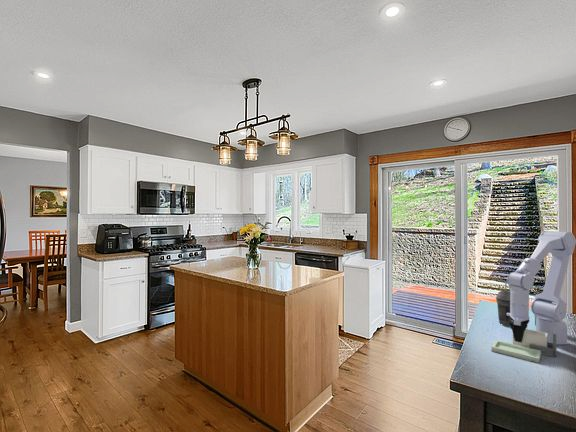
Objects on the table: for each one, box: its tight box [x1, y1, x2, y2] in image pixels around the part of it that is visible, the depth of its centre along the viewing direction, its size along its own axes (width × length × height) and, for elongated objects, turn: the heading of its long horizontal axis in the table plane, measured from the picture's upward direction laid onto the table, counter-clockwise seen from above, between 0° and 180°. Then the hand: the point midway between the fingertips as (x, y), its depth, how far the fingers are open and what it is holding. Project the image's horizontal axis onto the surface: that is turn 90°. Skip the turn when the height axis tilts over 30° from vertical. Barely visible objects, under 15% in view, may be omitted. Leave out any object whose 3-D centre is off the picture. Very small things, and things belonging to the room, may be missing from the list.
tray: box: [491, 340, 542, 364], centre depth 112 cm, size 14×9×2 cm, turn 48°
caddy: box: [512, 328, 548, 348], centre depth 117 cm, size 10×5×6 cm, turn 48°
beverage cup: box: [495, 280, 512, 327], centre depth 142 cm, size 7×7×20 cm
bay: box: [530, 328, 557, 358], centre depth 114 cm, size 7×8×8 cm
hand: (519, 339), depth 119 cm, fingers closed on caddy, 5 cm apart
